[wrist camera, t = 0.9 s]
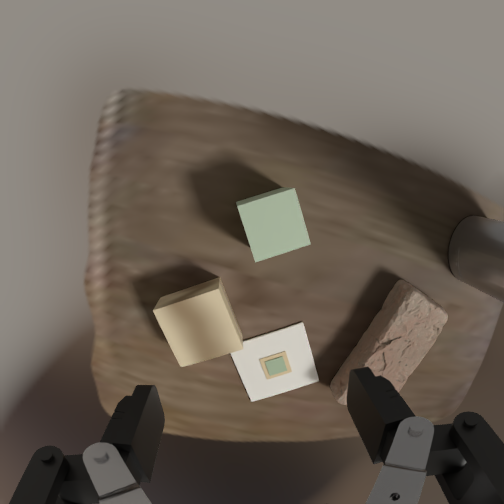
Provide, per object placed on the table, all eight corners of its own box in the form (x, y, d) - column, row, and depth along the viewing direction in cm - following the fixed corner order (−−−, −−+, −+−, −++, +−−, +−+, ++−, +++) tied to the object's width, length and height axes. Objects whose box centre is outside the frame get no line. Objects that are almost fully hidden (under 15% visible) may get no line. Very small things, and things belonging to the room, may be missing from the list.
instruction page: (302, 321, 35) (303, 323, 34) (318, 379, 37) (319, 381, 36) (227, 345, 35) (227, 347, 34) (251, 400, 37) (251, 402, 36)
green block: (282, 187, 31) (294, 188, 25) (296, 233, 32) (310, 244, 27) (235, 202, 31) (237, 206, 25) (250, 248, 32) (255, 262, 27)
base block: (219, 276, 33) (218, 288, 29) (241, 331, 35) (243, 349, 31) (160, 296, 33) (152, 310, 29) (185, 348, 35) (181, 367, 31)
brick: (396, 275, 35) (415, 287, 30) (435, 301, 36) (455, 314, 31) (324, 382, 37) (334, 404, 33) (368, 397, 39) (380, 417, 34)
